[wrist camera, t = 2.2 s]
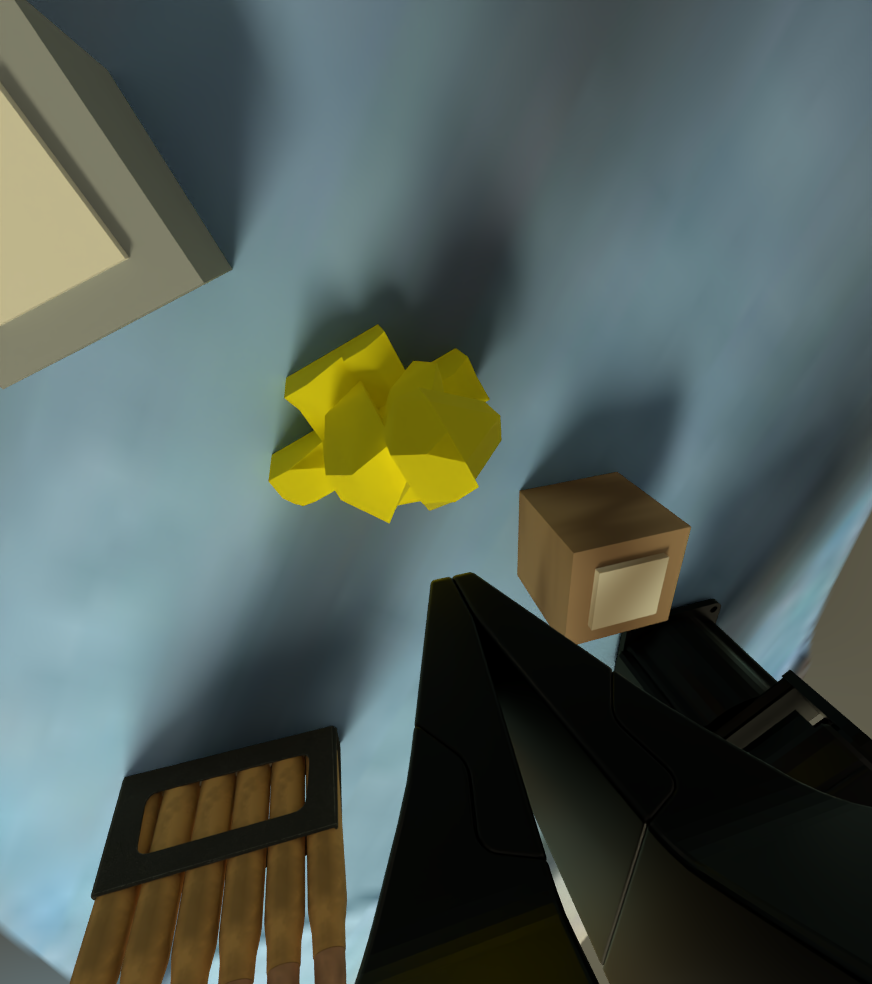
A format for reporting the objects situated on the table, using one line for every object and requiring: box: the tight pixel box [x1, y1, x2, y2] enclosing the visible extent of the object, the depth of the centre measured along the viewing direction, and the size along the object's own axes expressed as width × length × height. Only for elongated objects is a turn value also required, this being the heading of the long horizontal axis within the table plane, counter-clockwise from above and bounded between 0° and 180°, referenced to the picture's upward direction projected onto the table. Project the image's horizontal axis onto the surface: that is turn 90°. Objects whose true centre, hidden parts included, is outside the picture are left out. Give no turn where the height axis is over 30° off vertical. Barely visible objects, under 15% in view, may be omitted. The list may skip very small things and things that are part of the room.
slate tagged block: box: [0, 0, 232, 389], centre depth 11 cm, size 5×5×5 cm
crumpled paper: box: [269, 324, 501, 523], centre depth 15 cm, size 6×8×8 cm
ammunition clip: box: [70, 726, 347, 984], centre depth 20 cm, size 11×2×12 cm, turn 91°
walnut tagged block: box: [517, 472, 691, 644], centre depth 21 cm, size 5×5×5 cm
